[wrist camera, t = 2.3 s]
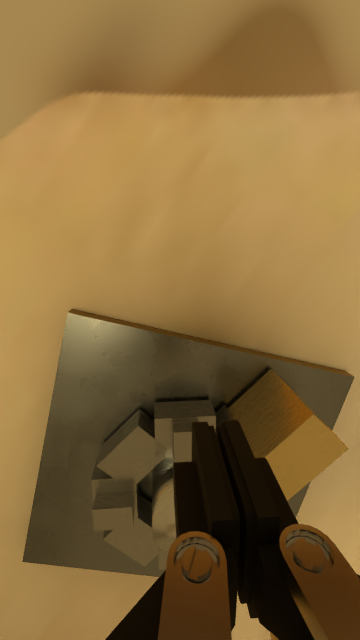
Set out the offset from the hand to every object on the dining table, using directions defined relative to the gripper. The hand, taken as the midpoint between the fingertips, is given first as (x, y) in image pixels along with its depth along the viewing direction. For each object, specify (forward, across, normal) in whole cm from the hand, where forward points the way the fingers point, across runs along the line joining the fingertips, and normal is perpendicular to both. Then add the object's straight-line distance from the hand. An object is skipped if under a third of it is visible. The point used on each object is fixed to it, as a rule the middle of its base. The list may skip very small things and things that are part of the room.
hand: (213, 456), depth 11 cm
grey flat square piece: (+10, 0, +9) cm, 14 cm away
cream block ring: (+9, -1, +8) cm, 12 cm away
